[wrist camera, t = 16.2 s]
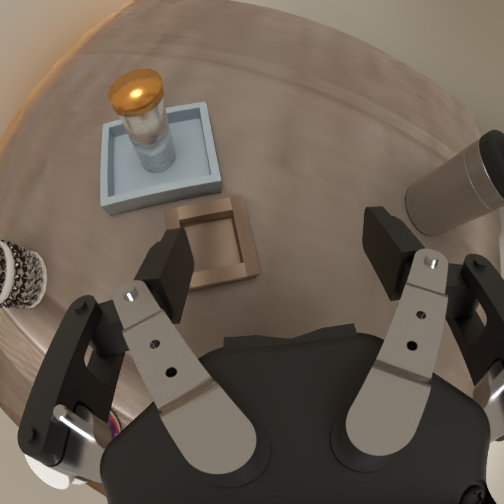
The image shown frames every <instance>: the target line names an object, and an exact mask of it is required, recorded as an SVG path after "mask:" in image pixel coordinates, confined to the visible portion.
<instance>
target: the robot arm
mask: <svg viewBox="0 0 504 504" xmlns="http://www.w3.org/2000/svg"><path fill="white" fill-rule="evenodd" d="M406 207H407V211H408V214H409V217H410V219H411V220H412V222H413V224H414V225H415V226H416V228H417V229H418V230H419V231H420V232H422V233H424V234H426V235H430V236H432V235H436V234H438V233H441V232H443V231H446V230H449V229H451V228H454V227H456V226H459V225H461V224H464V223H466V222H469V221H471V220H474V219H476V218H478V217H481V216H483V215H486V214H488V213H490V212H493V211H495V210H497V209H499V208H501V207H504V134H503V133H502V132H500V131H498V130H492V131H489V132H488V133H486V134H485V135H483V136H482V137H481V138H480V139H478V140H477V141H475V142H474V143H473V144H471V145H470V146H468V147H467V148H466V149H464V150H463V151H462V152H460V153H459V154H457V155H456V156H454V157H453V158H451V159H450V160H449V161H447V162H446V163H444V164H443V165H441V166H440V167H438V168H437V169H435V170H434V171H433V172H431V173H430V174H428V175H427V176H425V177H423V178H422V179H421V180H419V181H418V182H416V183H415V184H413V185H412V186H411V187H409V189H408V191H407V194H406ZM362 242H363V248H364V251H365V253H366V255H367V257H368V259H369V260H370V262H371V264H372V266H373V268H374V270H375V272H376V273H377V275H378V277H379V279H380V281H381V283H382V285H383V287H384V289H385V291H386V293H387V295H388V297H389V299H390V301H395V300H400V302H399V304H398V307H397V310H396V313H395V315H394V318H393V321H392V323H391V326H390V328H389V331H388V333H387V335H386V338H385V340H383V339H381V338H379V337H376V336H373V335H369V334H364V333H357V332H356V329H355V326H354V323H353V324H346V325H340V326H333V327H326V328H322V329H319V330H316V331H313V332H310V333H307V334H304V335H301V336H298V337H295V338H292V339H284V338H275V337H266V336H258V335H254V336H240V337H224V347H222V348H219V349H216V350H213V351H211V352H209V353H207V354H205V355H204V356H202V357H200V358H199V359H197V358H196V356H195V355H194V354H193V352H192V351H191V349H190V348H189V347H188V345H187V344H186V342H185V341H184V340H183V338H182V337H181V335H180V334H179V332H178V331H177V330H176V328H175V327H174V325H173V324H177V323H180V320H181V316H182V312H183V308H184V305H185V301H186V297H187V293H188V290H189V286H190V282H191V279H192V275H193V272H194V258H193V254H192V251H191V248H190V244H189V241H188V238H187V234H186V231H185V229H184V228H183V227H182V228H175V229H168V230H166V232H165V234H164V236H163V238H162V240H161V241H160V242H157V243H156V244H155V245H154V246H152V247H151V248H150V250H149V252H148V253H147V255H146V257H145V259H144V261H143V263H142V265H141V267H140V269H139V271H138V273H137V275H136V276H135V278H134V280H133V281H130V282H127V283H125V284H123V285H122V286H120V287H119V288H118V289H117V290H116V292H115V293H114V296H113V300H110V301H107V302H103V303H100V304H98V303H97V301H96V300H95V298H94V297H93V296H91V295H86V296H82V297H80V298H78V299H77V300H75V301H74V302H73V303H72V304H71V305H70V307H69V308H68V310H67V312H66V314H65V316H64V318H63V320H62V322H61V324H60V326H59V328H58V330H57V332H56V334H55V336H54V338H53V340H52V342H51V344H50V346H49V349H48V351H47V353H46V355H45V358H44V360H43V362H42V365H41V367H40V369H39V372H38V374H37V377H36V379H35V382H34V385H33V387H32V390H31V393H30V395H29V398H28V401H27V404H26V407H25V410H24V413H23V416H22V420H21V423H20V427H19V430H18V444H19V447H20V448H21V450H22V452H23V453H24V454H26V455H28V456H29V457H31V458H33V459H35V460H37V461H39V462H41V463H42V464H43V465H45V466H47V467H49V468H51V469H53V470H55V471H57V472H59V473H62V474H64V475H66V476H70V477H73V478H76V479H78V480H81V481H84V482H90V481H95V482H99V483H102V484H103V487H104V490H105V493H106V497H107V501H108V504H496V502H495V501H494V499H493V498H492V496H491V494H490V492H489V490H488V488H487V484H486V464H487V456H488V450H489V444H490V443H491V442H492V441H494V440H495V441H503V440H504V280H503V278H502V277H501V276H500V274H499V273H498V272H497V270H496V269H495V268H494V267H493V265H492V264H491V263H490V262H489V261H488V260H487V259H486V258H484V257H483V256H481V255H478V254H469V255H467V256H466V257H465V260H464V263H463V265H460V264H450V263H448V261H447V259H446V257H445V256H444V255H443V254H441V253H440V252H438V251H436V250H433V249H425V247H424V246H423V245H422V244H421V243H420V241H419V240H418V239H417V238H416V237H415V235H414V234H412V232H411V231H410V229H408V227H407V226H406V225H405V224H404V223H403V221H401V220H399V219H398V218H396V217H394V216H391V215H390V214H389V213H388V212H387V211H386V210H385V209H384V207H382V206H377V207H366V209H365V212H364V225H363V237H362ZM479 303H480V304H481V306H482V308H483V309H484V311H485V313H486V316H487V323H486V326H484V324H483V323H482V321H481V319H480V317H479V315H478V314H477V312H476V309H477V307H478V305H479ZM445 318H446V320H447V322H448V324H449V326H450V328H451V330H452V333H453V335H454V337H455V339H456V341H457V344H458V346H459V348H460V350H461V353H462V355H463V358H464V360H465V362H466V365H467V368H468V370H469V373H470V375H471V378H472V381H473V384H474V386H475V388H474V391H473V399H472V398H470V397H469V396H467V395H466V394H464V393H463V392H461V391H460V390H459V389H457V388H456V387H454V386H453V385H451V384H450V383H448V382H447V381H445V380H444V379H442V378H441V377H439V376H438V375H436V374H435V373H433V370H434V366H435V362H436V358H437V354H438V350H439V346H440V341H441V337H442V332H443V326H444V321H445ZM88 345H90V346H91V347H92V349H93V351H92V354H91V357H90V360H89V363H88V365H87V367H86V365H85V362H84V356H85V353H86V350H87V347H88ZM129 350H130V353H131V355H132V357H133V359H134V362H135V364H136V366H137V368H138V370H139V372H140V374H141V377H142V379H143V381H144V383H145V385H146V387H147V389H148V391H149V393H150V395H151V396H152V398H153V400H154V401H153V402H152V403H151V404H150V405H149V406H148V407H147V408H146V409H145V410H144V411H143V412H142V413H141V414H140V415H138V416H137V417H136V418H135V419H134V420H133V421H132V422H131V423H130V424H129V425H128V426H127V427H125V428H124V429H123V430H122V431H121V432H120V433H119V434H118V435H117V436H116V437H114V438H113V439H112V435H111V430H110V428H109V426H108V425H107V424H108V419H109V415H110V410H111V405H112V401H113V397H114V393H115V389H116V385H117V381H118V377H119V373H120V369H121V366H122V362H123V358H124V355H125V351H129Z"/></svg>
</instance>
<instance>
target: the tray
mask: <svg viewBox="0 0 504 504" xmlns="http://www.w3.org/2000/svg"><path fill="white" fill-rule="evenodd" d="M165 109H166V114H167V119H168V123H169V127H170V132H171V136H172V140H173V145H174V149H175V153H176V158H175V161H174V163H173V165H172V166H171V167H170V168H169V169H167V170H166V171H164V172H161V173H151V172H148V171H146V170H145V169H144V167H143V166H142V164H141V162H140V160H139V157H138V155H137V153H136V151H135V149H134V147H133V145H132V143H131V141H130V139H129V136H128V134H127V132H126V130H125V128H124V126H123V123H122V121H121V119H120V120H116V121H113V122H109V123H106V124H103V133H102V148H101V182H100V187H101V207H102V208H103V209H104V210H105V211H106V212H107V213H108V214H110V215H115V214H119V213H123V212H128V211H132V210H136V209H140V208H145V207H149V206H154V205H158V204H163V203H168V202H173V201H178V200H183V199H188V198H193V197H198V196H203V195H209V194H214V193H220V192H221V177H220V172H219V167H218V162H217V157H216V152H215V147H214V142H213V136H212V131H211V126H210V121H209V116H208V111H207V105H206V102H199V103H193V104H187V105H181V106H175V107H170V108H165Z"/></svg>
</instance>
